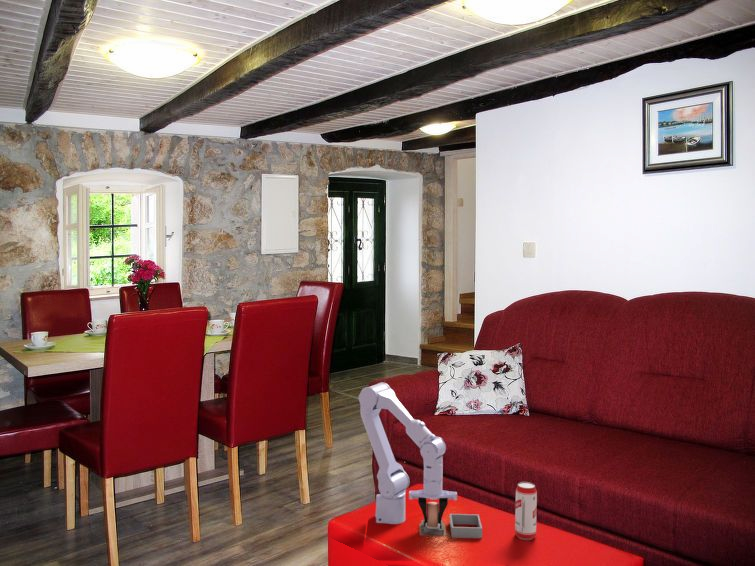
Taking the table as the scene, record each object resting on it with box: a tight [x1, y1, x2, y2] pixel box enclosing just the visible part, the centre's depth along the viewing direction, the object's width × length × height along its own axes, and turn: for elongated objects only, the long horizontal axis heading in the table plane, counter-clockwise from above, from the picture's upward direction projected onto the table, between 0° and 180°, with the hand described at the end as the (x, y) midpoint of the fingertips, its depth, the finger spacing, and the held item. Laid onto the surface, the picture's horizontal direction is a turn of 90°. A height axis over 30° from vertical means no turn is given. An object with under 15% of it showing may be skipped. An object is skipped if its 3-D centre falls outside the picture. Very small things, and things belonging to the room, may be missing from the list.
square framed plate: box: [418, 519, 447, 537], centre depth 204 cm, size 8×8×2 cm
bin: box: [449, 513, 483, 539], centre depth 204 cm, size 9×10×4 cm
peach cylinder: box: [425, 501, 440, 529], centre depth 204 cm, size 4×4×8 cm
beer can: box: [514, 481, 538, 541], centre depth 202 cm, size 6×6×16 cm
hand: (432, 521), depth 204 cm, fingers closed on peach cylinder, 4 cm apart
